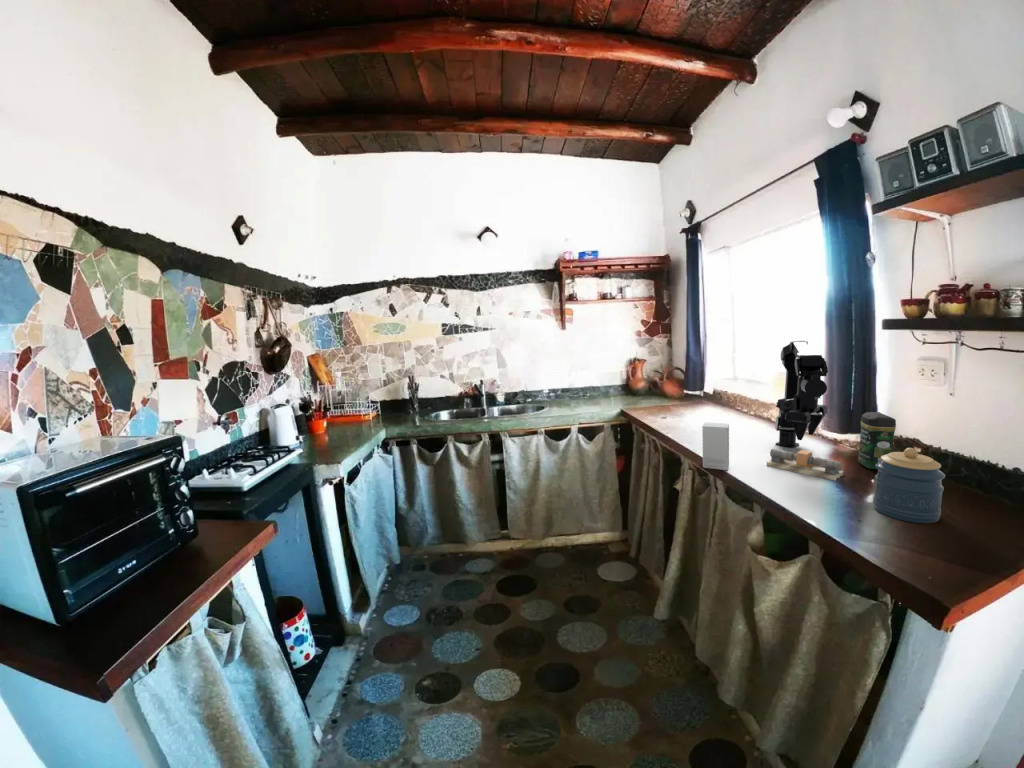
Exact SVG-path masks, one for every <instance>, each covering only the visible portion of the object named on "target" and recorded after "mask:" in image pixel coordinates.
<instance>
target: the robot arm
mask: <svg viewBox="0 0 1024 768" xmlns="http://www.w3.org/2000/svg"><path fill="white" fill-rule="evenodd" d="M808 342H809V341H808V340H804V339H802V340H797V339H796V340H792V341H790V343H788V344H787V345H784V346H783V347H782V349H781V351H780V361H782V363H781V364H782V366H783V367H784V369H785V370H786V371H785V385H784V398H780V399H777V402H776V405H775V407H776V408H778V415H777V416H776V418H775V422H774V428H775V430H776V432H778V434H779V436H778V441H777V442H775V444H774V445H776V446H782V447H788V448H791V449H792V448H795V447H798V446H799V445H800V443H799V442H797V441H802V440H803V438H804V436H805V434H806V433H808V435H809V436H813V435H814V433H815V432H816V430H817V429H818V427H819V426H820V424H821V422H822V421H823V420H824V418H825V417H826V415H827V414H828V406H826V405H824V404H819V399H821V397H822V396H823V395H825V394H826V393H827V390H828V385H827V383H826V382H825V381H824V380H823V379H821V377H827V374H828V373H829V370H828V369H829V368H828V365H827V361H826V359H825V357H823V355H822V354H821V353H819V352H814V351H813V350H812V349H811V348H810V346H809V343H808Z"/></svg>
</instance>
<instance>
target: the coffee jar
mask: <svg viewBox="0 0 1024 768" xmlns="http://www.w3.org/2000/svg"><path fill="white" fill-rule="evenodd" d="M896 427H897V423H896V418H894V417H891V416H889V415H886V414H884V413H882V412H879V411H878V412H877V411H866V412H864V413H863V414H862V415H861V418H860V437H859V438H860V439H859V447H858V457H857V461H858V462H859V464H860V465H862V466H863V467H864V468H866V469H872V470H876V471H878V469H877V467H876V464H877V463H879V462H882V461H883V460H882V459H881V456H883V455H886V454H889V453H891V452H894V440H895V438H894V437H895V431H896Z"/></svg>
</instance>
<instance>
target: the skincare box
mask: <svg viewBox="0 0 1024 768" xmlns="http://www.w3.org/2000/svg"><path fill="white" fill-rule="evenodd" d="M701 430H702V468H704V469H712V470H723V471H728V470H729V467H730V423H721V422H705V421H704V424H703V425H702V429H701Z"/></svg>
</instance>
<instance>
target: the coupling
mask: <svg viewBox="0 0 1024 768" xmlns="http://www.w3.org/2000/svg"><path fill="white" fill-rule="evenodd" d="M814 458H815V457H813V451H812V450H811V451H810V450H806V449H805V450H804V449H801V450H799V451H797V452H796V453H795V457H794V461H796V465H800V466H805V467H810V466H812V465H813V460H814Z"/></svg>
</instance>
